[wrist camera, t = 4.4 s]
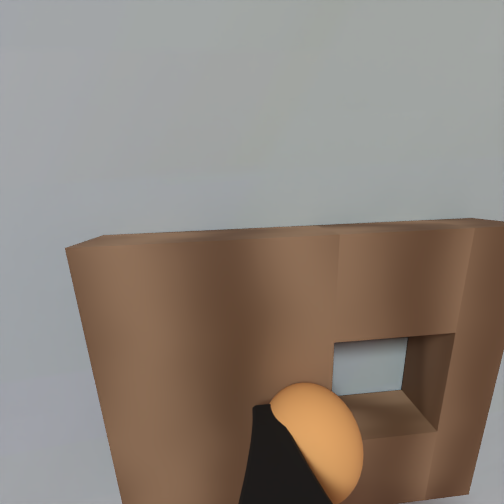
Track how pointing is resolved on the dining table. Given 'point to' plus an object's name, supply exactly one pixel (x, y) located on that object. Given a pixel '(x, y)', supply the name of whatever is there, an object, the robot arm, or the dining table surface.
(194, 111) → the dining table surface
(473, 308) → the board
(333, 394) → the ball
